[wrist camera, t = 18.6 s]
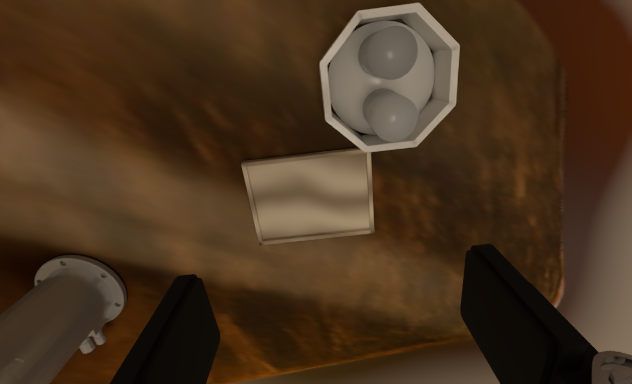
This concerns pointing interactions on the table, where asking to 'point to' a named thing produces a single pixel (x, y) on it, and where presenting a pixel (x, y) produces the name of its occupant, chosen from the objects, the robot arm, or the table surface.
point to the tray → (310, 195)
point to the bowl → (417, 85)
